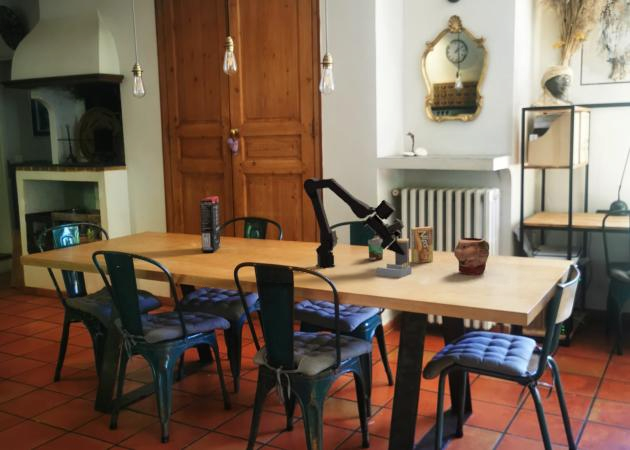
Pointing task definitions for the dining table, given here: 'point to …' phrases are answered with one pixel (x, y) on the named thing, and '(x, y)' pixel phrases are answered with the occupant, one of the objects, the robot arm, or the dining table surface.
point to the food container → (375, 249)
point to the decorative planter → (472, 255)
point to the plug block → (405, 247)
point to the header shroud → (395, 270)
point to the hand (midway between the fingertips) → (405, 253)
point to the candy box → (422, 244)
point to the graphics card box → (210, 224)
